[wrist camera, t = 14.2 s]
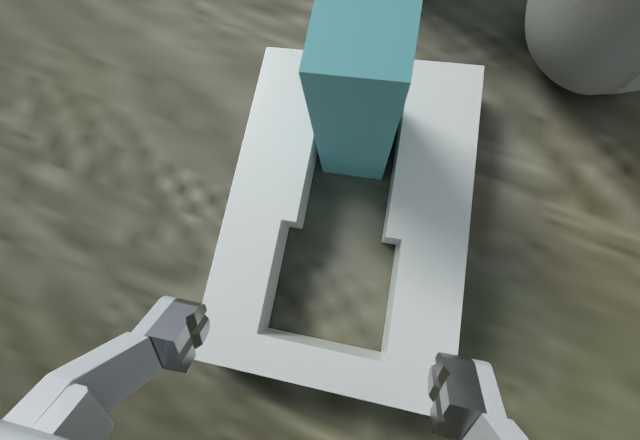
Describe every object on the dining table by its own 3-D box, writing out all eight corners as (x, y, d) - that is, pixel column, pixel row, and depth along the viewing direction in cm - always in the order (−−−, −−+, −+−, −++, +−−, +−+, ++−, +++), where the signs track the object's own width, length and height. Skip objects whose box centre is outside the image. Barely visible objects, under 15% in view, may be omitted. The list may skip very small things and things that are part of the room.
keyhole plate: (437, 402, 17) (451, 421, 15) (208, 348, 19) (188, 358, 17) (469, 90, 21) (484, 65, 18) (275, 71, 23) (266, 46, 20)
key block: (381, 180, 20) (411, 82, 10) (323, 171, 21) (298, 72, 11) (389, 126, 21) (424, -13, 11) (333, 119, 21) (318, -19, 12)
